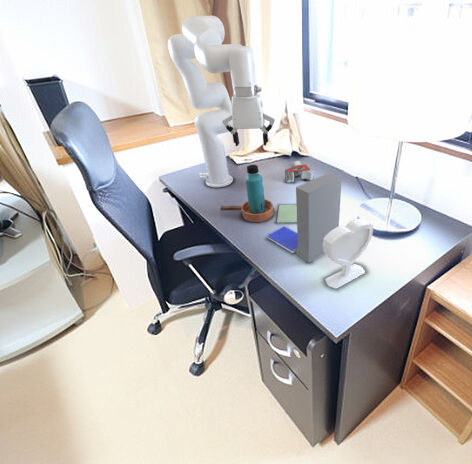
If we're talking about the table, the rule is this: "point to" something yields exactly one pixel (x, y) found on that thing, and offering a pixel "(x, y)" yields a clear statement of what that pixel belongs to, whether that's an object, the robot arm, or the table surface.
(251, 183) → the beverage bottle
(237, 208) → the pan handle
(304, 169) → the tape dispenser
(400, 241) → the table surface
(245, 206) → the pan
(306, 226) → the tall grey upright box
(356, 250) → the heart sculpture
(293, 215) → the cloth
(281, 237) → the hard drive
